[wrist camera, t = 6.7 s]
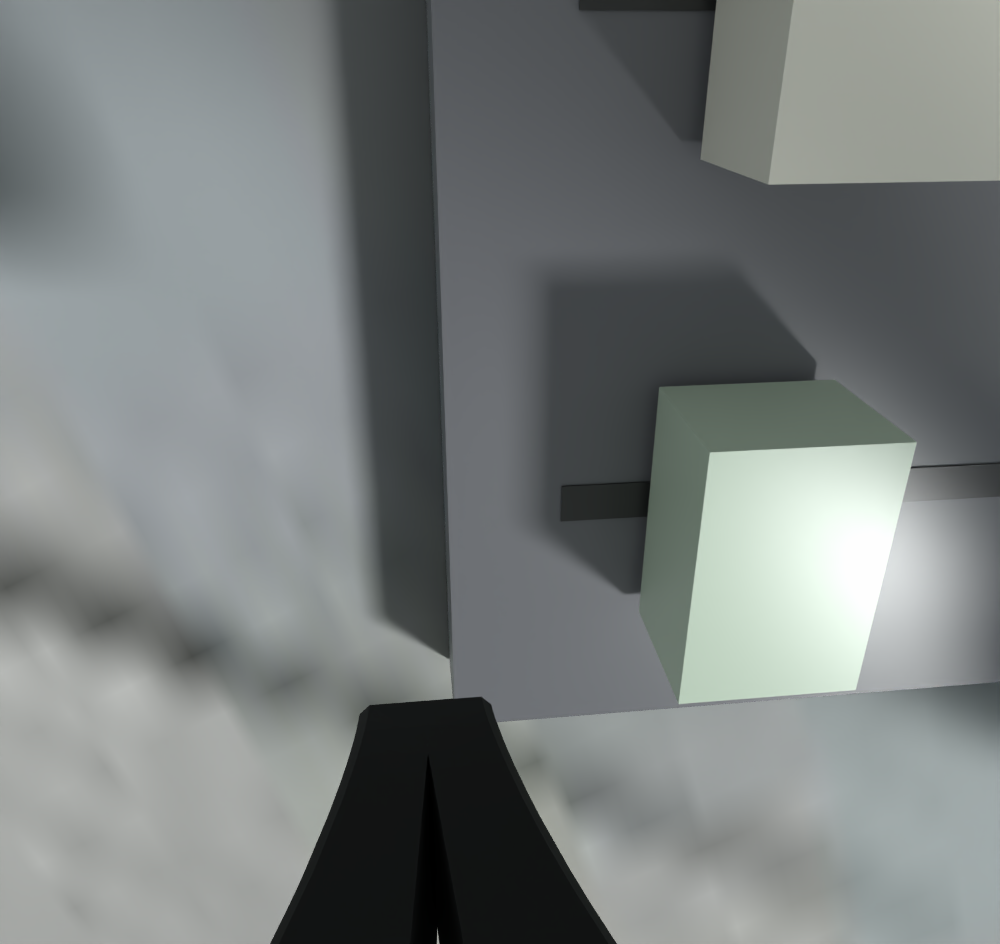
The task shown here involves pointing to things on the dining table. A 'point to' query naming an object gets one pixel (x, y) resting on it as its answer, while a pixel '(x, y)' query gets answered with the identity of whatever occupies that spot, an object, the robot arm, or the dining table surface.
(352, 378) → the dining table surface
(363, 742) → the robot arm
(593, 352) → the console
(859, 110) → the block
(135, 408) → the dining table surface
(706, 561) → the sage fader
